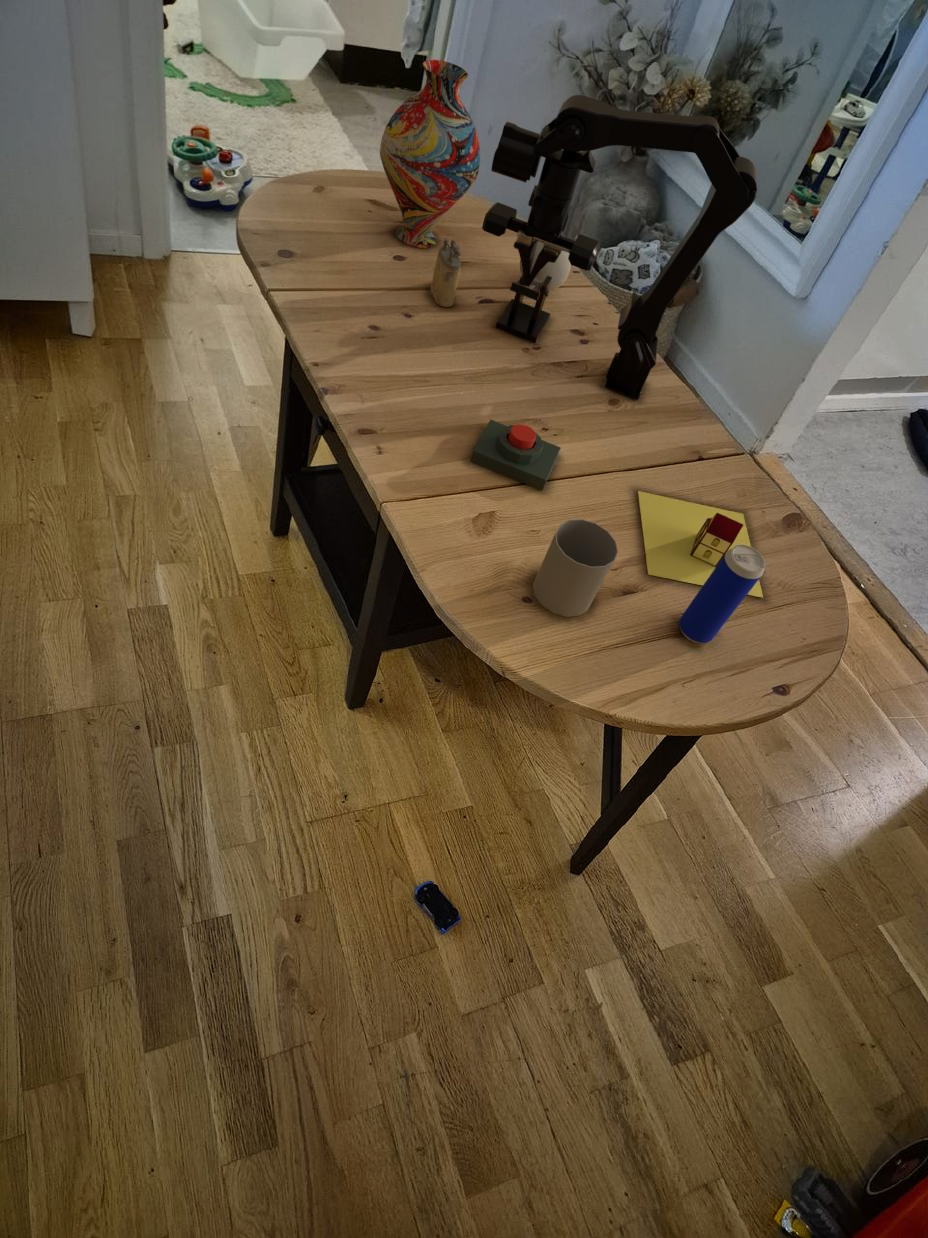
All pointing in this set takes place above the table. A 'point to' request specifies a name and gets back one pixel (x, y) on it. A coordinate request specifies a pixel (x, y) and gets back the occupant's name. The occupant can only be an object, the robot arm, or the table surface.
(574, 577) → the cup
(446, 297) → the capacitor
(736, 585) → the beverage can
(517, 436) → the button
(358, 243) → the table surface
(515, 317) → the tap bracket
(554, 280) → the ball
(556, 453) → the button box
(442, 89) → the vase
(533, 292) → the lever
